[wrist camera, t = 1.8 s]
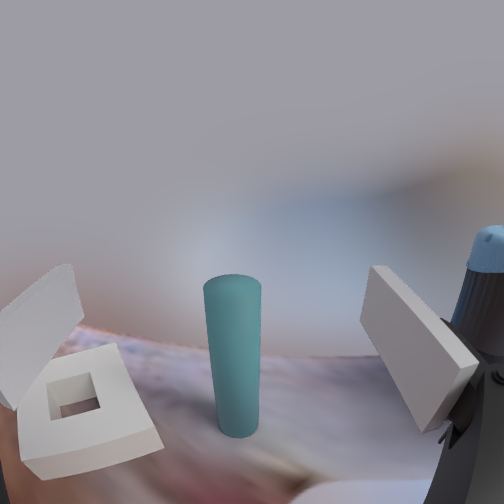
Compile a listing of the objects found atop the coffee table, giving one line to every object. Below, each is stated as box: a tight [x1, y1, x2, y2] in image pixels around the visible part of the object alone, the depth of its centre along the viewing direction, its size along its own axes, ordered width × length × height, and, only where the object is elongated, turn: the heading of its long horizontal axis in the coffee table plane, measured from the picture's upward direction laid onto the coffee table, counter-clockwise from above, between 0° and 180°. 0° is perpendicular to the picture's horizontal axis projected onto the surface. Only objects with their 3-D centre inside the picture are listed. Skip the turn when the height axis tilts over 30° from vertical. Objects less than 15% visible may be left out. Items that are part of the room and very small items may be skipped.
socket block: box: [17, 342, 165, 481], centre depth 25 cm, size 16×16×4 cm
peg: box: [203, 274, 261, 438], centre depth 25 cm, size 4×4×18 cm
